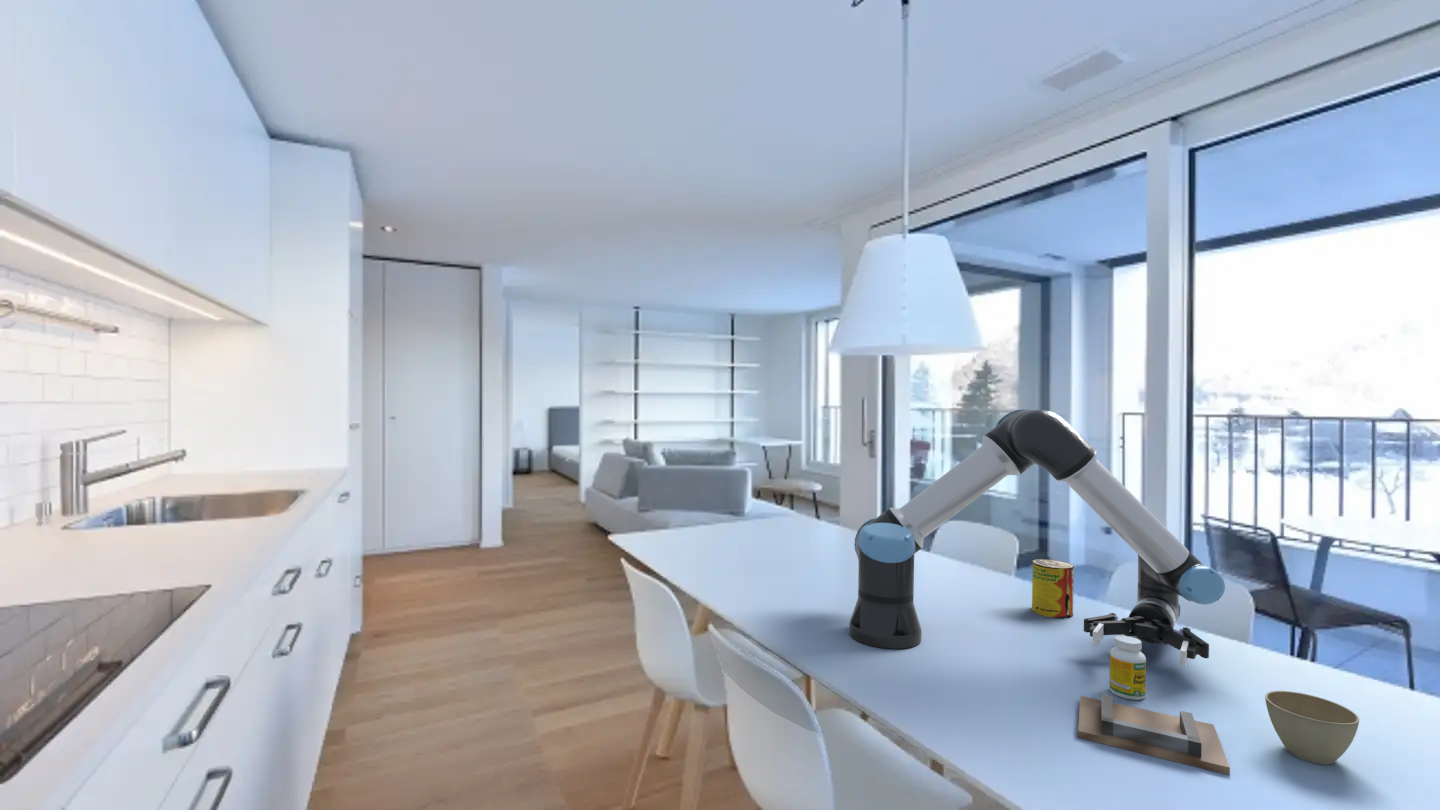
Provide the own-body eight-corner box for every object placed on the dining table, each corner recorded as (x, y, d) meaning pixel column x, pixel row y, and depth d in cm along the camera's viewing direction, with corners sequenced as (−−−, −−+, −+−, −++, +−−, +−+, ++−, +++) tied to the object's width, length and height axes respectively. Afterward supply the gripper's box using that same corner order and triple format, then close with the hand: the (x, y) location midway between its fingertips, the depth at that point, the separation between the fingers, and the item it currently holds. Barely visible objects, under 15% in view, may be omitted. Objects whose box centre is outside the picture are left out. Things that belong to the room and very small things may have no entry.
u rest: (1078, 737, 95) (1078, 717, 95) (1080, 701, 107) (1080, 683, 107) (1229, 774, 86) (1230, 752, 86) (1213, 730, 98) (1213, 711, 98)
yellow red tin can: (1050, 619, 150) (1051, 568, 150) (1023, 607, 159) (1024, 559, 159) (1081, 617, 152) (1082, 567, 152) (1053, 605, 161) (1054, 558, 161)
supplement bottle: (1118, 684, 114) (1119, 631, 114) (1151, 696, 110) (1152, 641, 110) (1103, 691, 111) (1104, 637, 111) (1136, 703, 107) (1137, 647, 107)
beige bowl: (1246, 738, 96) (1247, 691, 96) (1306, 736, 97) (1307, 689, 97) (1313, 776, 86) (1314, 723, 86) (1379, 774, 87) (1380, 722, 87)
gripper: (1227, 654, 124) (1223, 689, 108) (1084, 624, 141) (1061, 650, 124) (1228, 616, 124) (1223, 645, 108) (1084, 590, 141) (1062, 612, 124)
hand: (1136, 648), depth 116 cm, fingers open, 13 cm apart
